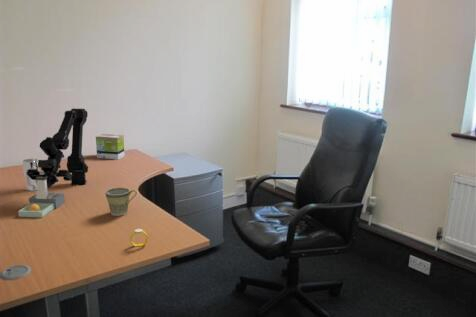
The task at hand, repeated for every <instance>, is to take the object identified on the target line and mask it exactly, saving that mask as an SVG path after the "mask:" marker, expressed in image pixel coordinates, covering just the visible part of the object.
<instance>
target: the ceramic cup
mask: <svg viewBox="0 0 476 317" xmlns="http://www.w3.org/2000/svg"><path fill="white" fill-rule="evenodd" d="M134 192H135V194H134V196H132V197H131V198H130V195H131V194H132V193H134ZM136 196H137V191H136V190H135V189H132V190H131V189H130V188H128V187H113V188H112V187H111V188H108V189H107V190H105V197H106V201H107V204H108V208H109V211H110V214H111V216H115V217H120V216H124V215H126V214H128V209H129V203H130V202H131V201H132V200H133V199H134V198H135V197H136Z"/></svg>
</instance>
